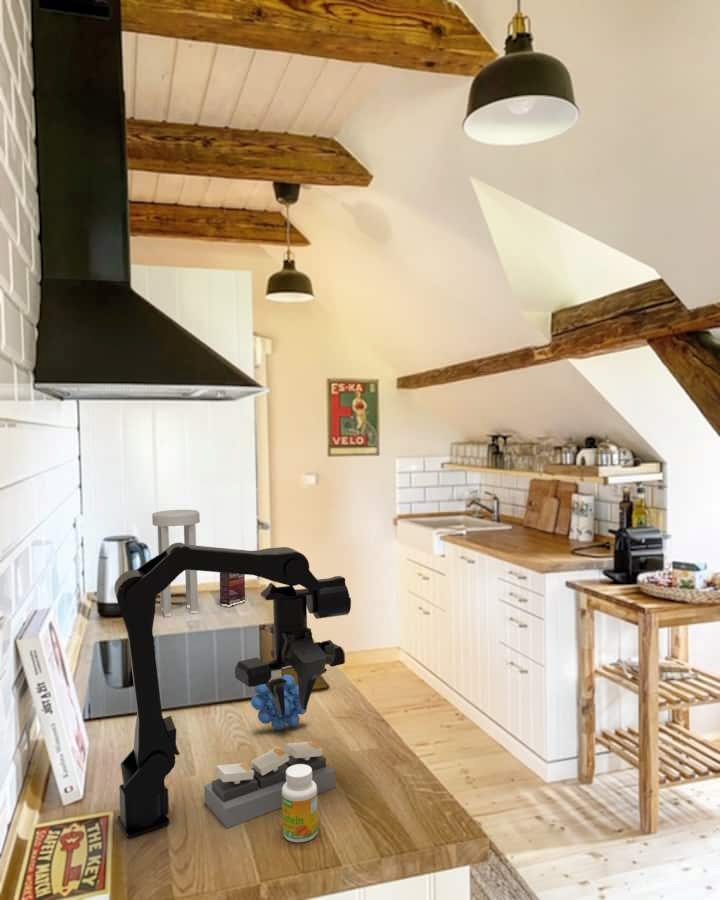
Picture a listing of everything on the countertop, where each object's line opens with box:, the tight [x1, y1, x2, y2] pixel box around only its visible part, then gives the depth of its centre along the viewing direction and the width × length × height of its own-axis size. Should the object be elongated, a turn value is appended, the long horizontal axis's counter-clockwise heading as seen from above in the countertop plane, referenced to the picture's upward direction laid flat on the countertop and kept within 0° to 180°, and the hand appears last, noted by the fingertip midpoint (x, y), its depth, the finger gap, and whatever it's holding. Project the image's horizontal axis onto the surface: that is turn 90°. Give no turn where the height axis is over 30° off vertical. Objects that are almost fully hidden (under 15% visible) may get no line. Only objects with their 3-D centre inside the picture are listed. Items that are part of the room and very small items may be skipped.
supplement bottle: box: [281, 764, 319, 843], centre depth 104 cm, size 5×5×10 cm
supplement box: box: [219, 572, 246, 605], centre depth 246 cm, size 9×5×16 cm, turn 147°
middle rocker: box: [250, 745, 289, 776], centre depth 115 cm, size 5×4×2 cm
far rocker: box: [284, 741, 323, 760], centre depth 119 cm, size 5×4×2 cm
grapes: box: [250, 674, 308, 731], centre depth 140 cm, size 12×7×12 cm, turn 109°
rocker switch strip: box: [203, 754, 337, 829], centre depth 115 cm, size 20×9×4 cm, turn 124°
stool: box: [151, 509, 201, 615], centre depth 238 cm, size 16×16×35 cm
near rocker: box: [214, 762, 254, 784], centre depth 111 cm, size 5×4×2 cm
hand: (292, 712), depth 117 cm, fingers open, 4 cm apart
